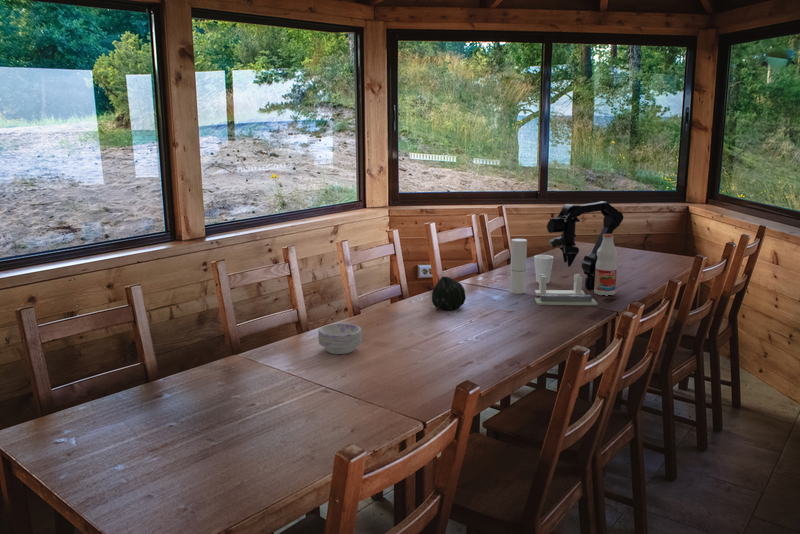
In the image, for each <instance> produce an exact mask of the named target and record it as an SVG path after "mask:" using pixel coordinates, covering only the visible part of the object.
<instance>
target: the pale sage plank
mask: <svg viewBox="0 0 800 534" xmlns="http://www.w3.org/2000/svg"><path fill="white" fill-rule="evenodd" d="M534 301H535V303H536V305H538V306H598V305H599V304H598V302H597V301H596V300H595V299H594V298H592V302H541V301H540V297H535V298H534Z"/></svg>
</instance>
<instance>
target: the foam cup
mask: <svg viewBox="0 0 800 534" xmlns="http://www.w3.org/2000/svg"><path fill="white" fill-rule="evenodd" d="M533 262H534V270H535V281H536V283H537V282H538V283H537V284H539V275H540V274H545V277H547V283H546V284H549V283H550V281H551V280H550V279H551V275H552V274H551V273H552V268H553V263H554V256H553V255H549V254H536V255H534V256H533Z"/></svg>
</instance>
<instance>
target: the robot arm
mask: <svg viewBox="0 0 800 534" xmlns="http://www.w3.org/2000/svg"><path fill="white" fill-rule="evenodd" d="M594 212H600V214H601V215H602V216H603V220H602V221H603V227H602V228H601V232H600V234H599V235H598V238H597V240H596V243H595V244H594V247H593V248H592V250H591V253H590V254H589V255H584V256H583V260H582V262H581V269H582V271H583V273H584V275H586V276H585V278H584V287H585V289H587V290H594V285H595V268H596V262H597V250H598V249H599V247H600V246H601V244H602V241H603V234H613V233H614V231H615V230H616V229H617V228H618V227H619V226H620V225H621V223H622V222H623V220H624V214H623V212H621V211H619V210H618V209H617V208H616V207H614V206H612V205H611V204H610V203H609V202H608V201H604V200H601V201H597V202H590V203H585V204H583V203H582V204H572V203H570V204H569V203H566V204H563V206H562V208H561V210H560V212H559V213H558V214H557V216H556V217H555V218H554V217H549V221H547V224H546V229H547V232H548V233H550V234H555V233H557V234H558V233H560V236H557V237H554V238H551V239H549V244H550V247H551V248H556V247H558V249H560V250H561V253H562V254H561V255H562V259H563V263H567V266H568V267H570V268H571V266H572V265H573V262H574V261H575V259H576V257H577V255H578V254H579V253H580V248H579V247H578V246H577V245H576V237H577V233H576V226H577V225H576V224H577V223H579V222H581V220H580V219H579V218H578V217H580V216H581V215H583V214H588V213H594Z"/></svg>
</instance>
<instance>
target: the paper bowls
mask: <svg viewBox="0 0 800 534" xmlns="http://www.w3.org/2000/svg"><path fill="white" fill-rule="evenodd" d="M317 331H318V344H319V345H320V346H321V347H324V349H325V351H326V352H327V353H330V354H332V355H345V354H350V353H353V352H354V351H355V350H356V348H357V346H360V345H361V344H362V342H363V337H362V335H363V334H362V333H363V332H362V327H361V326H359V325H357V324H353V323H345V322H344V323H331V324H330V323H329V324H326V325H323V326H321V327H320V328H319V329H318V330H317Z"/></svg>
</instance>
